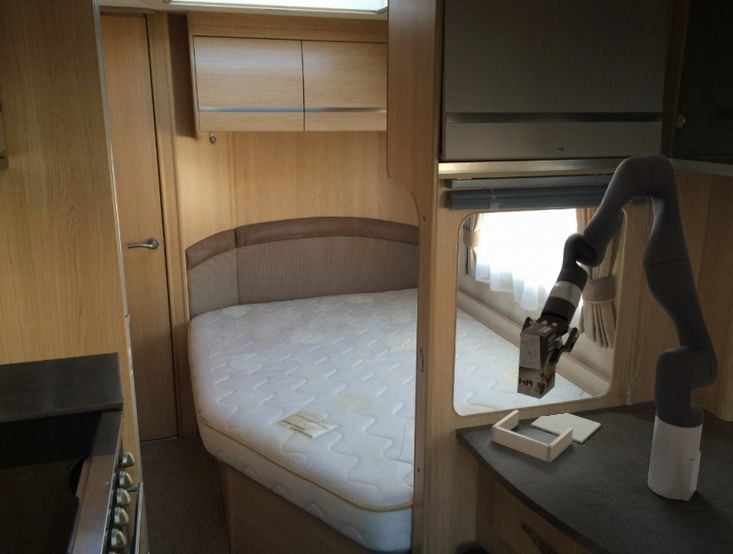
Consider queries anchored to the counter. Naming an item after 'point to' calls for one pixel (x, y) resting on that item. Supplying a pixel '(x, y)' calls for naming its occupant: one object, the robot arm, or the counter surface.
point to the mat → (567, 425)
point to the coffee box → (537, 360)
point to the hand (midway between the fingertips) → (537, 360)
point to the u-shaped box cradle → (528, 439)
